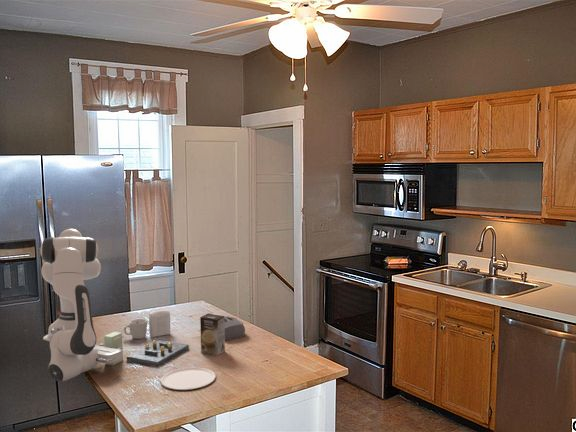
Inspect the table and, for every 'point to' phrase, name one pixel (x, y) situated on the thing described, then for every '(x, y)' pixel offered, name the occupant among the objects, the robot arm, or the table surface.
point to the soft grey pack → (233, 328)
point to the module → (113, 343)
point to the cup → (137, 328)
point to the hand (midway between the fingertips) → (112, 346)
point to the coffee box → (212, 334)
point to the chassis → (157, 353)
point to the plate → (188, 378)
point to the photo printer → (159, 323)
